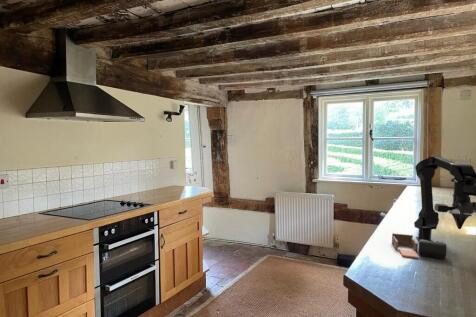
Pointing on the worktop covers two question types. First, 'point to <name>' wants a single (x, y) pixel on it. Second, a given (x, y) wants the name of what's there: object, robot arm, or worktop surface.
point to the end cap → (432, 249)
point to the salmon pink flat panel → (408, 253)
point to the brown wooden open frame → (404, 241)
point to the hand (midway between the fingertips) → (459, 228)
